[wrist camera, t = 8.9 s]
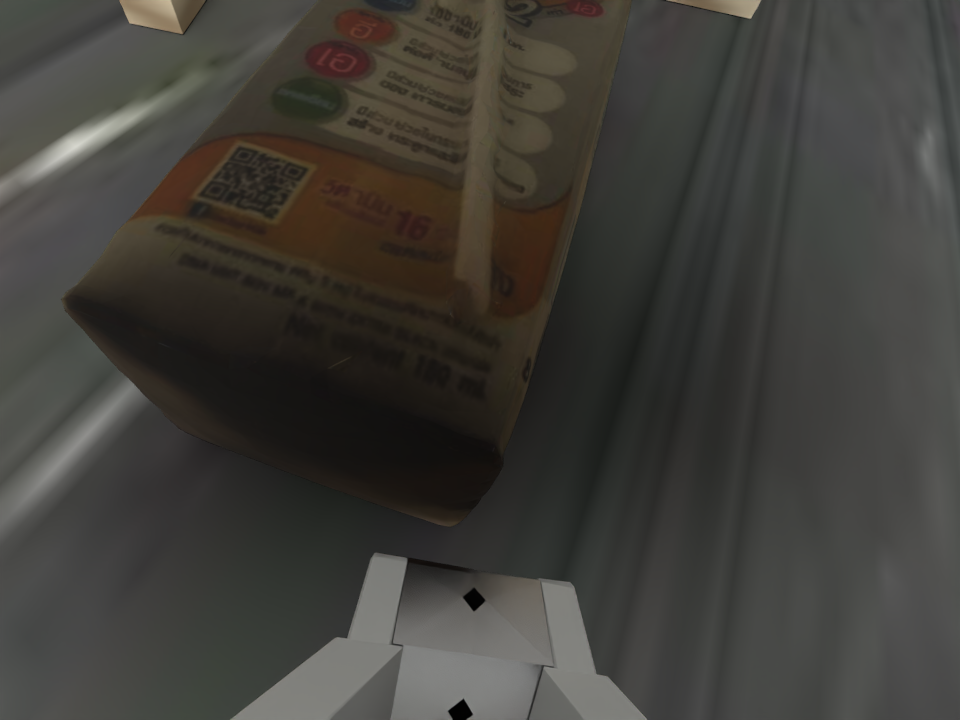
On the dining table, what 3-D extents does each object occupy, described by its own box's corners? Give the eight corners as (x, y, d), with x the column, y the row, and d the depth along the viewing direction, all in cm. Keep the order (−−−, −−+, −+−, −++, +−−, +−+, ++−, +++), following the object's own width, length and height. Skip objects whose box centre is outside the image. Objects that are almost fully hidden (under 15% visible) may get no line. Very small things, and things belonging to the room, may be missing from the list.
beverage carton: (600, 94, 22) (671, -95, 16) (467, 549, 13) (519, 485, 7) (422, 37, 22) (429, -170, 17) (169, 449, 13) (-9, 309, 8)
